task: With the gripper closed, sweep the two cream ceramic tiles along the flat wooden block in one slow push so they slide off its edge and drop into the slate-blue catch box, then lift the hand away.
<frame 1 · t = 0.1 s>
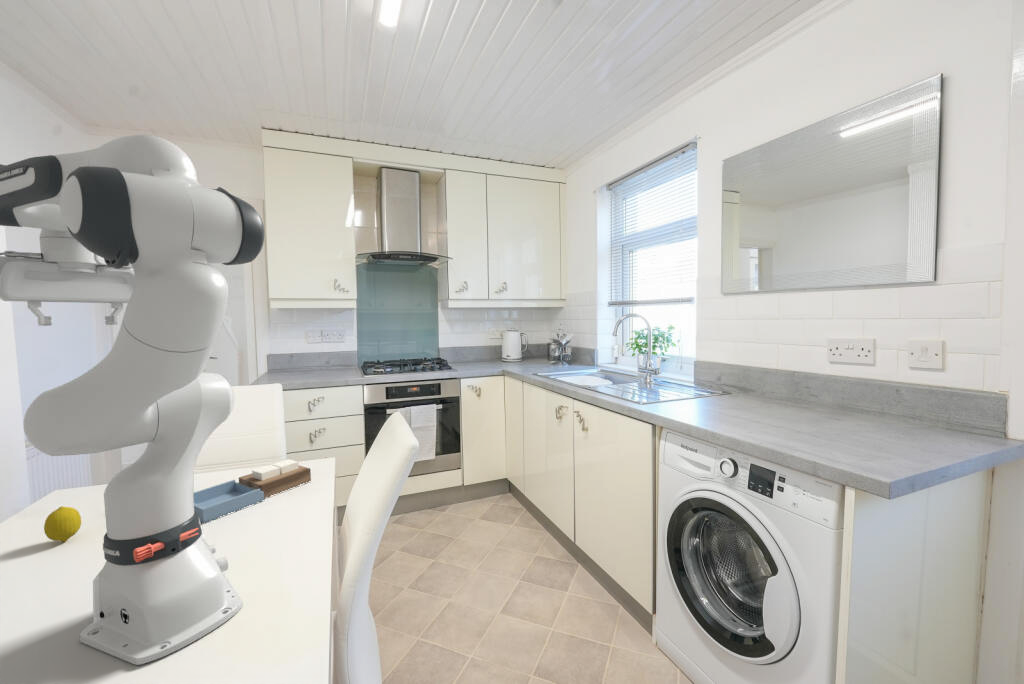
hand: (79, 325, 82), 48 cm above the table, tool pointing down, fingers open, 8 cm apart
catch box: (222, 505, 107), on the table
tile rear: (285, 469, 121), point 4 cm above the table, touching flat wooden block
flat wooden block: (276, 486, 119), on the table
lemon: (64, 542, 91), on the table
tile front: (266, 475, 116), point 4 cm above the table, touching flat wooden block
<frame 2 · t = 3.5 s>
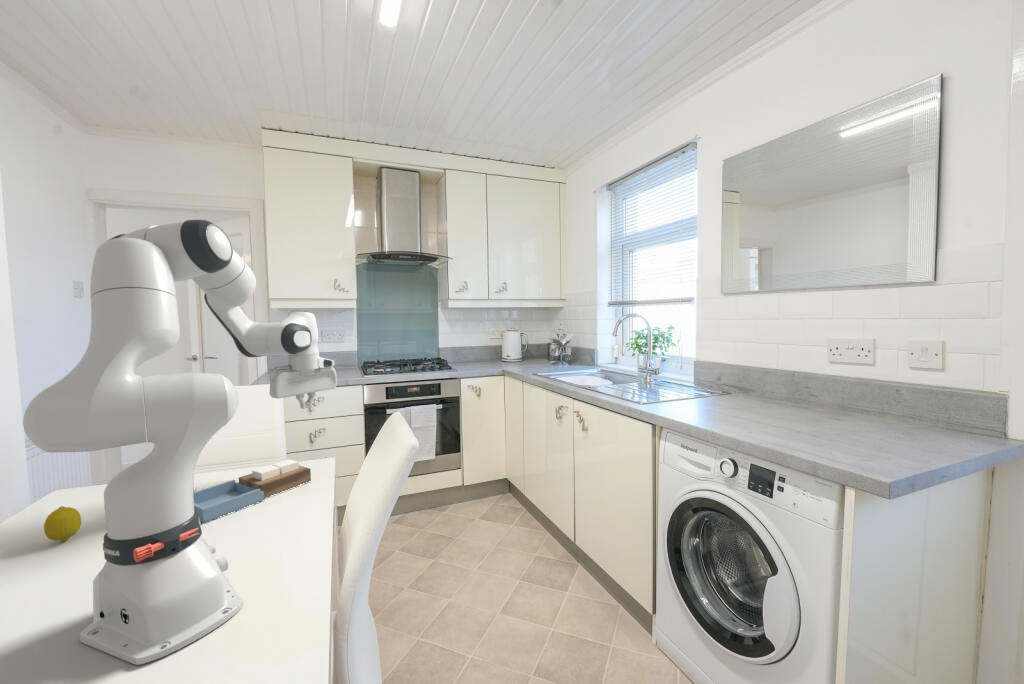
hand: (306, 407, 126), 21 cm above the table, tool pointing down, fingers closed
nothing on the table moved.
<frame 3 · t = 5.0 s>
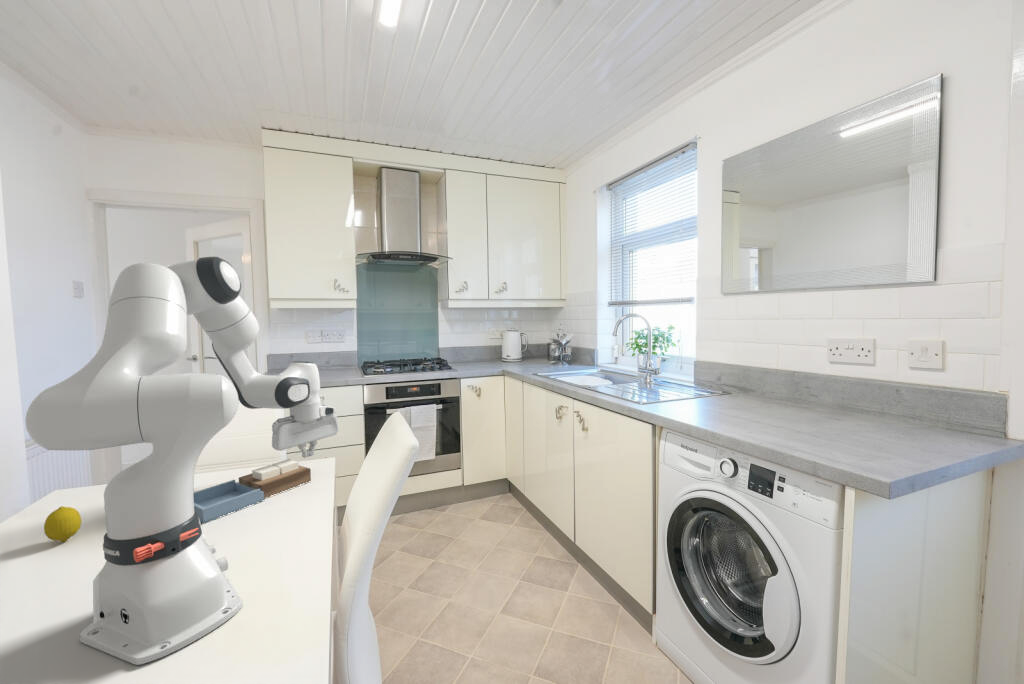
hand: (308, 456, 127), 6 cm above the table, tool pointing down, fingers closed
nothing on the table moved.
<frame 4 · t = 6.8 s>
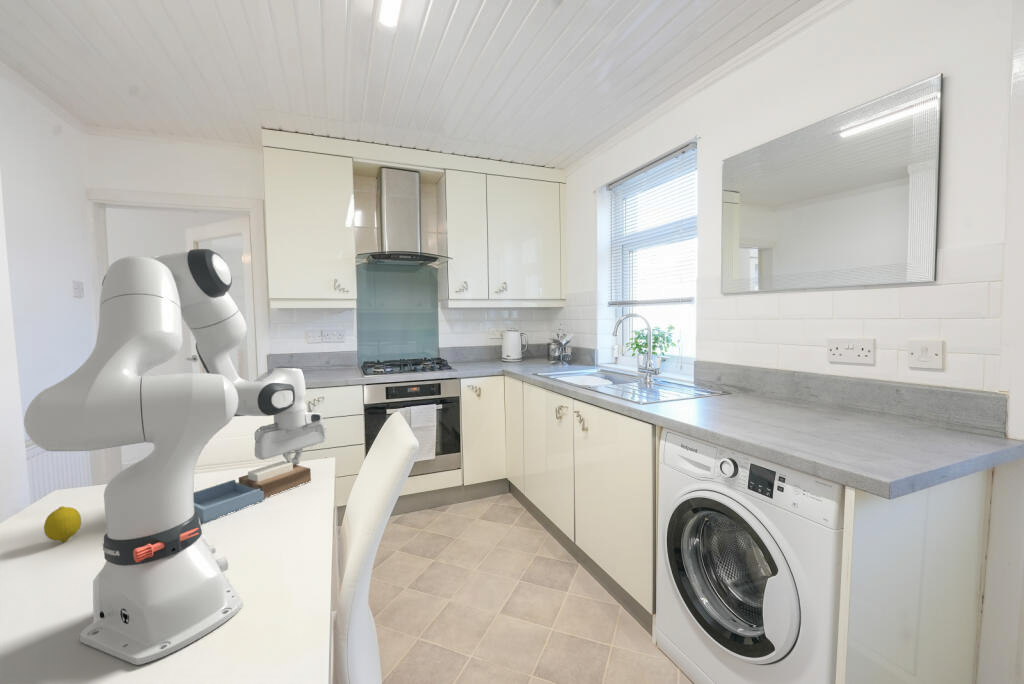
hand: (293, 464, 123), 5 cm above the table, tool pointing down, fingers closed
tile rear: (279, 471, 119), point 4 cm above the table, touching gripper, tile front
tile front: (262, 477, 115), point 4 cm above the table, touching tile rear
everything else where it was.
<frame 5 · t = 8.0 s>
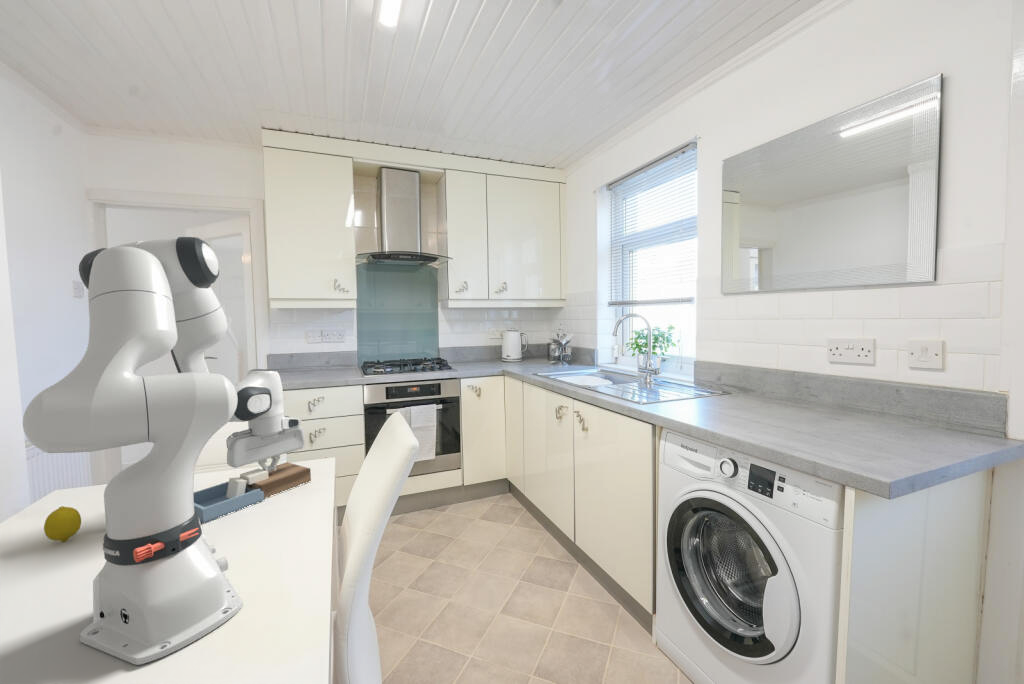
hand: (269, 472, 117), 5 cm above the table, tool pointing down, fingers closed
tile rear: (254, 479, 114), point 4 cm above the table, touching gripper
tile front: (240, 488, 110), point 3 cm above the table, tilted 77°, touching catch box
everything else where it was.
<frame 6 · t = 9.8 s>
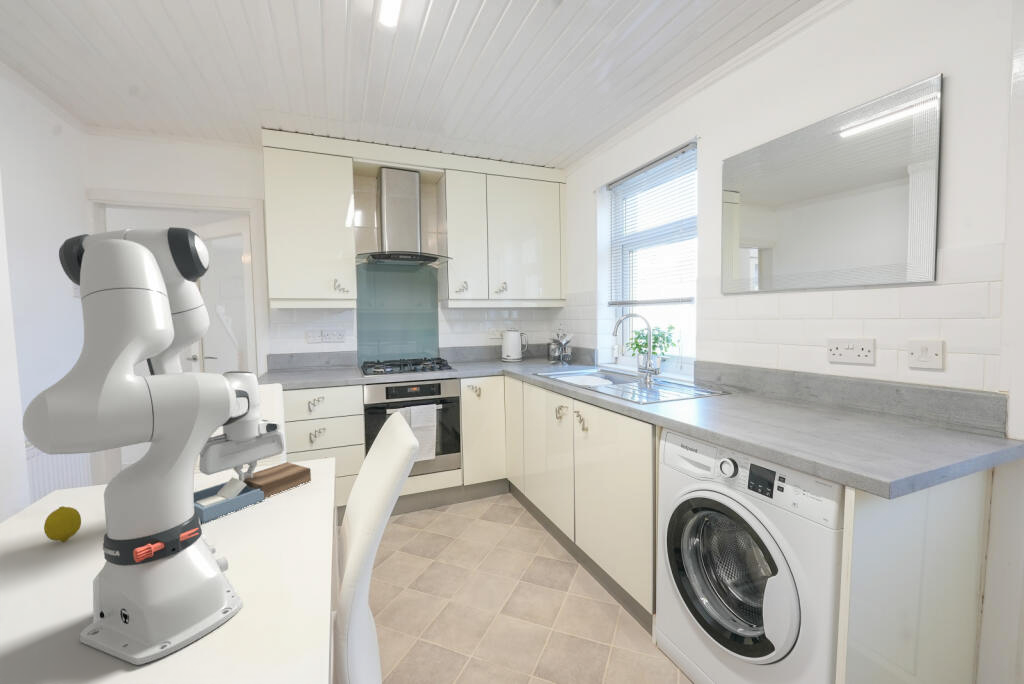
hand: (246, 479, 112), 5 cm above the table, tool pointing down, fingers closed
tile rear: (234, 491, 109), point 3 cm above the table, tilted 38°, touching gripper, tile front
tile front: (211, 499, 105), point 2 cm above the table, tilted 180°, touching catch box, tile rear
everything else where it was.
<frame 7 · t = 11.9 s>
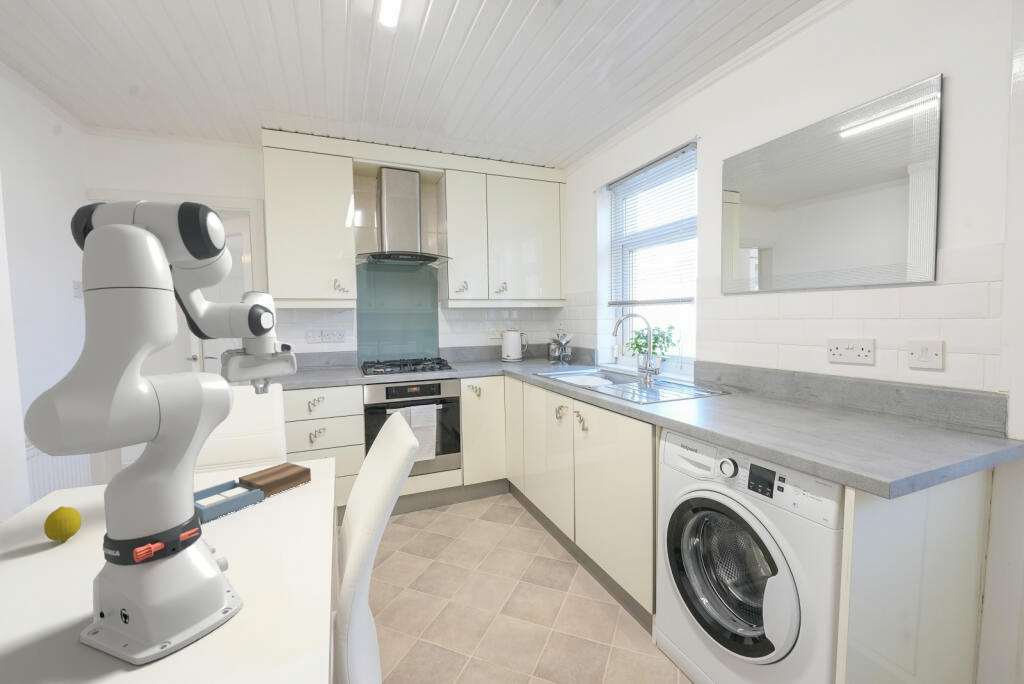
hand: (262, 393, 121), 27 cm above the table, tool pointing down, fingers closed
tile rear: (235, 499, 109), resting on catch box
tile front: (210, 499, 105), point 2 cm above the table, tilted 180°, touching catch box
everything else where it was.
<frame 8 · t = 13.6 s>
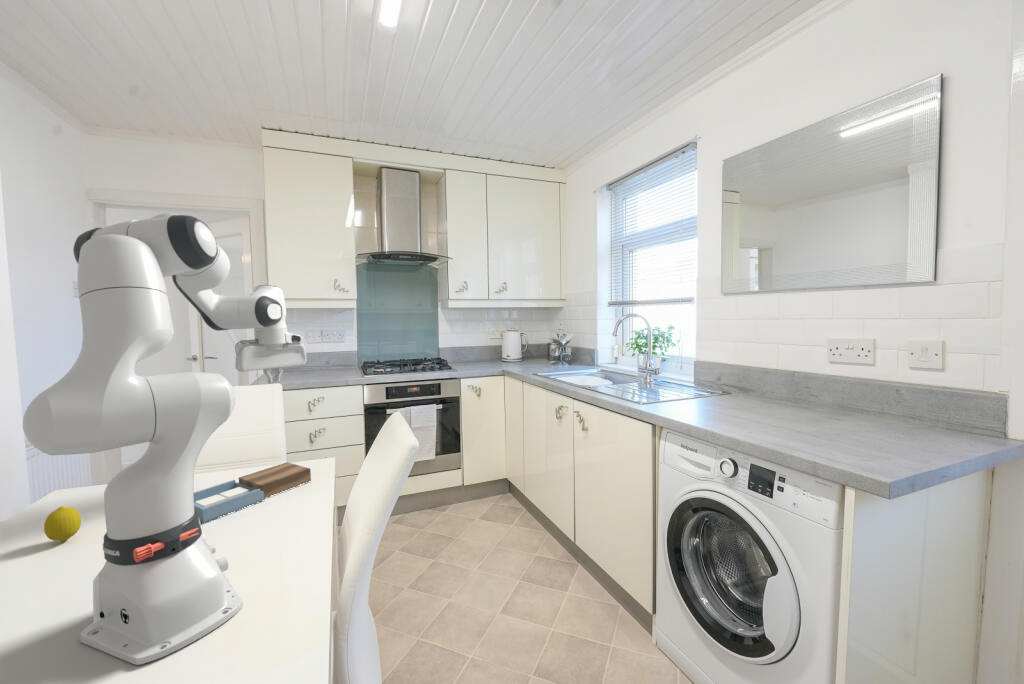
hand: (274, 382, 127), 29 cm above the table, tool pointing down, fingers closed
nothing on the table moved.
at the end: tile front inside the target area on the catch box (2.4 cm from its centre), point 2.5 cm above the catch box's base; tile rear inside the target area on the catch box (3.2 cm from its centre), point 0.5 cm above the catch box's base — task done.
